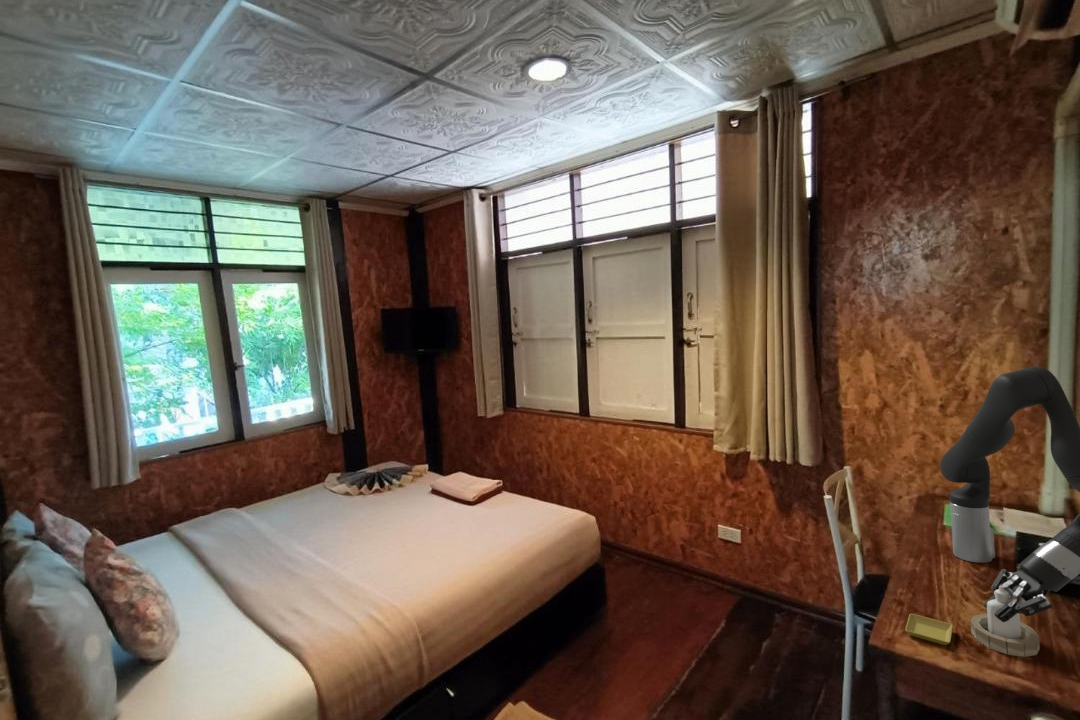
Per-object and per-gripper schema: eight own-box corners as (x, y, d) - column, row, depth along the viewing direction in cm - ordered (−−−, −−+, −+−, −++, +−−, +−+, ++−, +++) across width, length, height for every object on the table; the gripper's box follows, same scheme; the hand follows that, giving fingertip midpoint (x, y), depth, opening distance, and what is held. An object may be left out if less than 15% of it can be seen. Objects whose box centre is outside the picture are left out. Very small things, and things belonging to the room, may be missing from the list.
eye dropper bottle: (1020, 644, 111) (1017, 594, 111) (987, 635, 115) (984, 586, 115) (1021, 635, 114) (1018, 586, 114) (989, 626, 118) (986, 579, 118)
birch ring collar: (1000, 622, 121) (1000, 610, 121) (1053, 651, 110) (1052, 638, 109) (959, 629, 120) (958, 618, 120) (1008, 660, 109) (1007, 647, 108)
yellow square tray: (950, 651, 114) (950, 642, 114) (905, 637, 120) (904, 629, 120) (953, 632, 120) (953, 624, 120) (910, 620, 126) (909, 612, 126)
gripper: (1016, 540, 119) (961, 587, 122) (1062, 568, 105) (999, 620, 109) (1043, 561, 118) (987, 608, 121) (1094, 593, 104) (1029, 644, 108)
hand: (993, 613), depth 115 cm, fingers closed on eye dropper bottle, 3 cm apart
